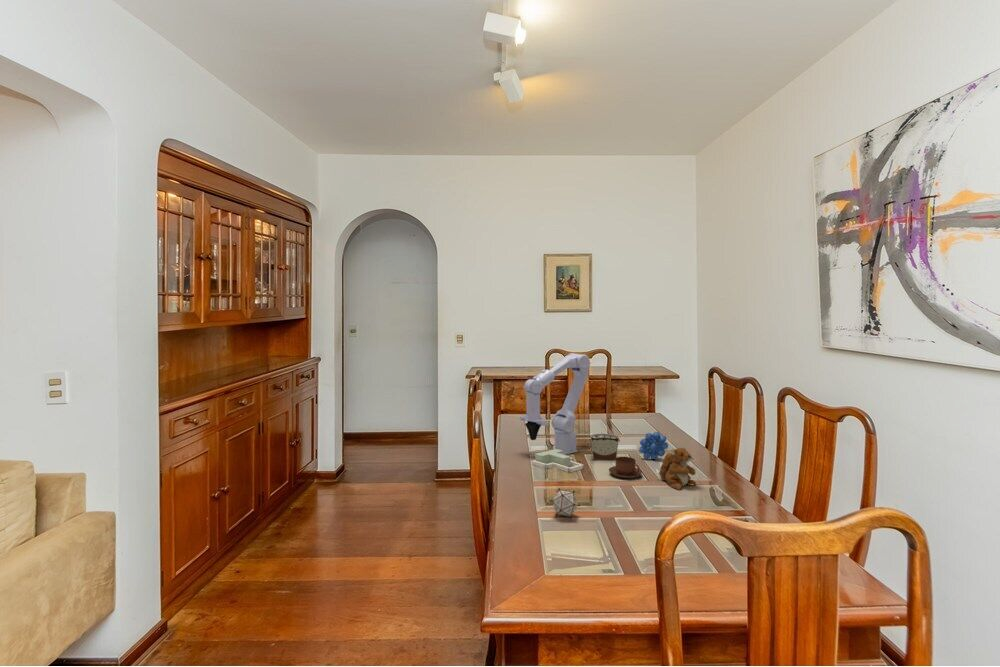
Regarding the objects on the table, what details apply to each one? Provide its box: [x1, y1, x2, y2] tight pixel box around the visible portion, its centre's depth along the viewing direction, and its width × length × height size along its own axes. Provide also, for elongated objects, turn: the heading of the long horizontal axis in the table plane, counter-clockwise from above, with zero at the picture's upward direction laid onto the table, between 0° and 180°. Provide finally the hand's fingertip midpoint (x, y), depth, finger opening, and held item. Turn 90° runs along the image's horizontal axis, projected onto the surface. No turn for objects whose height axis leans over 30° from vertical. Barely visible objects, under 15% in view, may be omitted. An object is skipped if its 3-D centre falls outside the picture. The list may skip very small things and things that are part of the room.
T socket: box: [532, 456, 585, 473], centre depth 205 cm, size 16×17×2 cm
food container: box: [589, 433, 621, 462], centre depth 215 cm, size 12×6×10 cm, turn 84°
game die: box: [549, 487, 581, 520], centre depth 154 cm, size 9×8×10 cm
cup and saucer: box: [608, 456, 643, 479], centre depth 193 cm, size 12×12×6 cm
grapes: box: [638, 431, 669, 460], centre depth 213 cm, size 12×7×12 cm, turn 70°
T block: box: [534, 448, 571, 468], centre depth 207 cm, size 12×12×4 cm
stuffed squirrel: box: [658, 447, 697, 491], centre depth 184 cm, size 10×14×13 cm
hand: (533, 439), depth 218 cm, fingers closed
